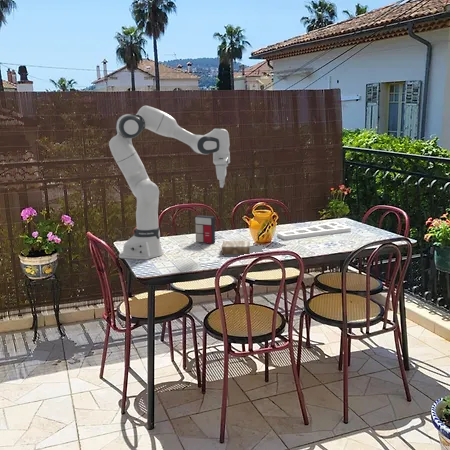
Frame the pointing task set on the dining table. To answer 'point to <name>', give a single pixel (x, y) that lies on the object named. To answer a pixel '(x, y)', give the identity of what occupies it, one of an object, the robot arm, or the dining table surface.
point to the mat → (252, 249)
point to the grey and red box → (205, 229)
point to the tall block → (235, 247)
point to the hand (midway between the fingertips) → (222, 186)
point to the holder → (314, 231)
